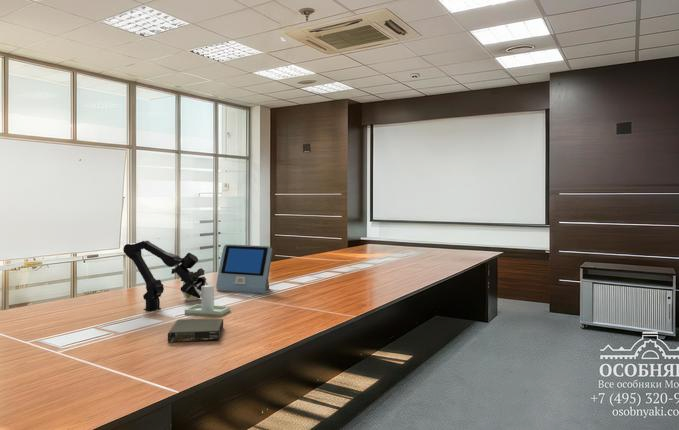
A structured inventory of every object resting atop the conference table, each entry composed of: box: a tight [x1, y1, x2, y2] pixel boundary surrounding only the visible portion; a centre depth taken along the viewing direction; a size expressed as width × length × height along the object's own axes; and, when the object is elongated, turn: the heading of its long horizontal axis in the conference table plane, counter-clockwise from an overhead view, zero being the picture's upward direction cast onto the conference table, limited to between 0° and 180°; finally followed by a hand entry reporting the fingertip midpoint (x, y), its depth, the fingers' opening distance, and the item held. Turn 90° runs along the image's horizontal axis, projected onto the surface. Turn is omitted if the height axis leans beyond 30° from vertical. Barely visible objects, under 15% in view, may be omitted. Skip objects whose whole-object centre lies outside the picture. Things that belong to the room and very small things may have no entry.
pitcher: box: [178, 276, 209, 302], centre depth 273 cm, size 11×18×14 cm, turn 90°
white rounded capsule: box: [200, 284, 215, 311], centre depth 243 cm, size 6×6×13 cm
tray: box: [184, 303, 231, 317], centre depth 243 cm, size 20×12×2 cm, turn 80°
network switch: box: [167, 318, 224, 344], centre depth 204 cm, size 23×23×5 cm
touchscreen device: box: [215, 243, 274, 295], centre depth 302 cm, size 35×20×30 cm, turn 73°
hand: (204, 295), depth 243 cm, fingers open, 9 cm apart
